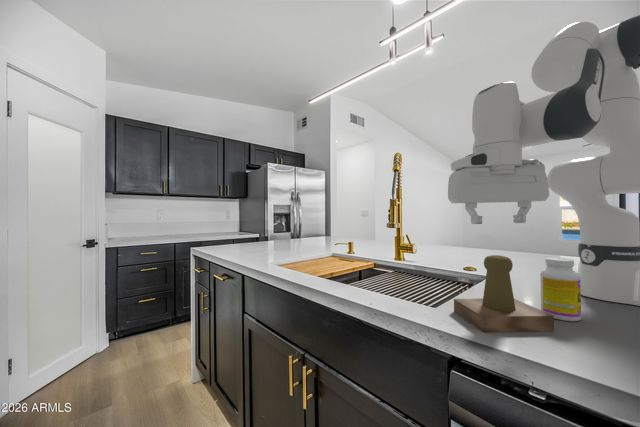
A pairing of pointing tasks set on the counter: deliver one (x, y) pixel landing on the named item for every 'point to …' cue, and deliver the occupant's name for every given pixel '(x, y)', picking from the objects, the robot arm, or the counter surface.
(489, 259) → the cork
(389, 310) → the counter surface
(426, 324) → the counter surface
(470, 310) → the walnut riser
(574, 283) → the supplement bottle
